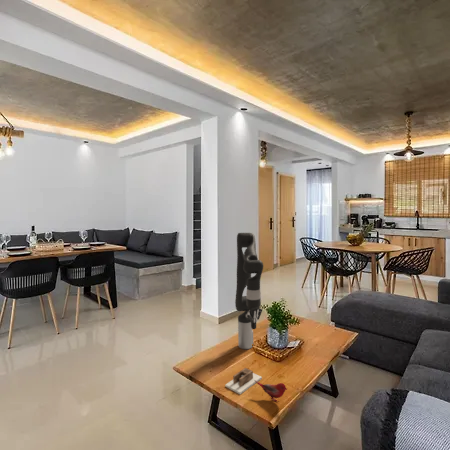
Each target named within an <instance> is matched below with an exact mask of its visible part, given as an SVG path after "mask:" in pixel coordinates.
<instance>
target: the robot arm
mask: <svg viewBox="0 0 450 450" xmlns="http://www.w3.org/2000/svg"><path fill="white" fill-rule="evenodd" d="M256 244H257V243H256V237H255V235H254V233H253V232H237V235H236V253H237V255H236V256H237V257H236V258H237V259H236V290H235V301H234V303H235V309H236V311H237V312H242V313H241V314H239V315H238V317H237V326H238V327H237V328H238V329H237V331H238V332H237V333H238V337H237V339H238V340H237V341H238V342H237V343H238V344H237V345H238V348H239V349H241V350H250V349H252V348H253V346H252V344H253V345H254V330H255V329H257V322H258V320H260V317H261V315H262V313H263V309H261V308H260V307H261V303H262V302H261V297H262V296H261V278H262V275H263V270H264V263H263V261H262V260H261V259H258V258H259V257H258V253H257V251H256V250H257V248H256V247H257V246H256ZM243 248H245V250H243ZM243 251H244V252H243ZM252 274H254V276H252ZM245 290H246V295H243V294H244V292H245Z"/></svg>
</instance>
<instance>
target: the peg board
mask: <svg viewBox="0 0 450 450" xmlns="http://www.w3.org/2000/svg"><path fill="white" fill-rule="evenodd" d="M242 376H244V375H241V377H242ZM262 379H263V376H261V375H258V374H256V373H254V372H253V379H251V380H250V381H249V382H247V383H246V384H244V385H243V386H242V387H240V386H239V381H238V382H237V383H236V384H234V383H233V379H232V380H230V381H228V382H227V383H226V384H225V385H224V386H225V387H226V388H227V389H229V390H231V391H233V392H235V393H236V394H239V395H241V394H243V393H244V392H246V391H247V390H249V388H251V387H252V386H254V385H256V384H257V383H256V382H255V381H257V382H260V381H261V380H262Z"/></svg>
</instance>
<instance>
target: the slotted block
mask: <svg viewBox="0 0 450 450" xmlns="http://www.w3.org/2000/svg"><path fill="white" fill-rule="evenodd" d="M253 373H254V371H253V370H251V369H248V368H246V367H244V368H243V369H242V370H240V371H238V372H237V373H235V374H234V375H232V376H233V377H232V378H233V379H232V380H233V383H234V384H236V383H237V382H238V381H239V386H240V387H242V386H243V385H244V384H246V383H247V382H249V381H250V380H251V379H253ZM241 375H244V376H242V377H241Z"/></svg>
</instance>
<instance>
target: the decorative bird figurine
mask: <svg viewBox="0 0 450 450" xmlns="http://www.w3.org/2000/svg"><path fill="white" fill-rule="evenodd" d="M255 382H256V383H255V384H257V385H258V386H260V387H261V388H262V390H263V391H264V392H265V394H267V395H268V396H269V398H270V400H272V401H274V402H280V401H279V400H277V399H280V398H281V397H283V395H284V393H285V392H286V391H288V388H286V387H287V386H286V384H285V383H283V382H279V383H277V384H272V383H271V384H268V383H267V384H266V383H265V384H262V383H260V381H258V382H257V381H255Z"/></svg>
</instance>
